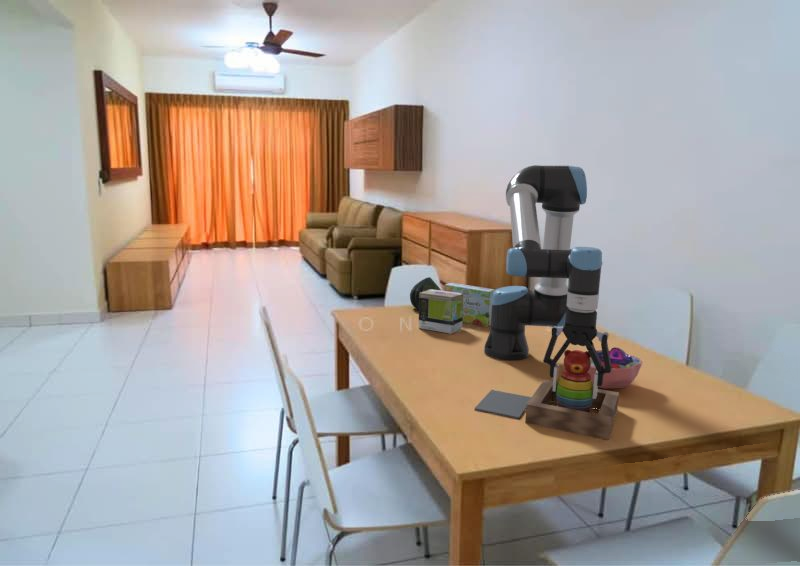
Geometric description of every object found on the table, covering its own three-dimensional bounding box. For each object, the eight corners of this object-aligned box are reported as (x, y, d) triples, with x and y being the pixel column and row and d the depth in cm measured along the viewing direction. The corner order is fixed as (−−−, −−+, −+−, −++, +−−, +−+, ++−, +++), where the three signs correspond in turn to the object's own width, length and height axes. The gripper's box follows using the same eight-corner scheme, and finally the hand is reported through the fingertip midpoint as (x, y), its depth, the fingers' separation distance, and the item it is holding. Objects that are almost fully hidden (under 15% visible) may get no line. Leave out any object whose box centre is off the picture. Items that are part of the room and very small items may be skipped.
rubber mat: (474, 409, 156) (474, 408, 156) (491, 391, 170) (491, 389, 169) (518, 419, 151) (519, 417, 151) (532, 399, 164) (532, 397, 164)
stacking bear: (548, 420, 151) (553, 353, 147) (554, 405, 160) (559, 343, 157) (592, 427, 147) (599, 359, 144) (595, 412, 156) (601, 348, 153)
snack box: (442, 319, 249) (443, 284, 246) (449, 316, 254) (450, 282, 251) (487, 327, 237) (489, 291, 234) (494, 324, 242) (496, 288, 239)
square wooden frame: (525, 422, 149) (526, 404, 148) (542, 396, 167) (544, 379, 166) (608, 440, 141) (610, 420, 140) (617, 410, 158) (619, 392, 157)
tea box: (462, 329, 234) (464, 292, 231) (451, 334, 226) (452, 297, 223) (429, 323, 242) (431, 287, 239) (417, 328, 234) (418, 292, 231)
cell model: (561, 380, 180) (564, 344, 178) (612, 372, 188) (615, 338, 186) (599, 400, 165) (603, 361, 163) (653, 391, 173) (657, 354, 170)
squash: (413, 302, 254) (434, 275, 256) (399, 296, 267) (419, 271, 269) (434, 321, 259) (455, 295, 262) (420, 315, 273) (439, 289, 275)
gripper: (534, 306, 149) (528, 390, 154) (626, 318, 140) (617, 406, 144) (541, 301, 156) (535, 381, 160) (629, 311, 147) (621, 396, 151)
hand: (574, 393), depth 152 cm, fingers closed on stacking bear, 9 cm apart
